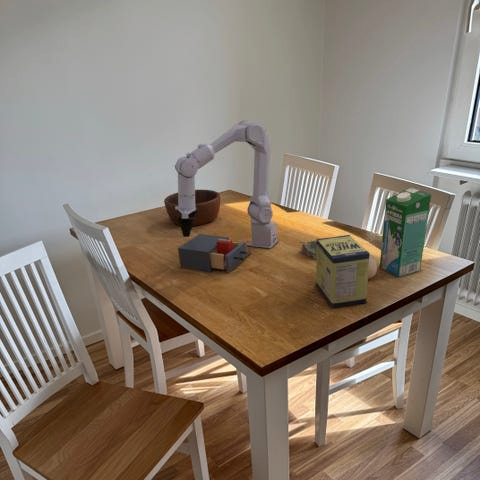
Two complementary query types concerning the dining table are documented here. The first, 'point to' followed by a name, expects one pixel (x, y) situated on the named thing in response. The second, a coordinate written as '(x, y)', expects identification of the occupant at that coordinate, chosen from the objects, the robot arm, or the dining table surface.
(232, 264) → the drawer
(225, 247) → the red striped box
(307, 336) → the dining table surface
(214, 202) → the wooden bowl
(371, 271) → the egg
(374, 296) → the dining table surface
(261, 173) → the robot arm
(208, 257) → the cabinet
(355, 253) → the protein box
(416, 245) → the milk carton
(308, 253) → the egg carton
